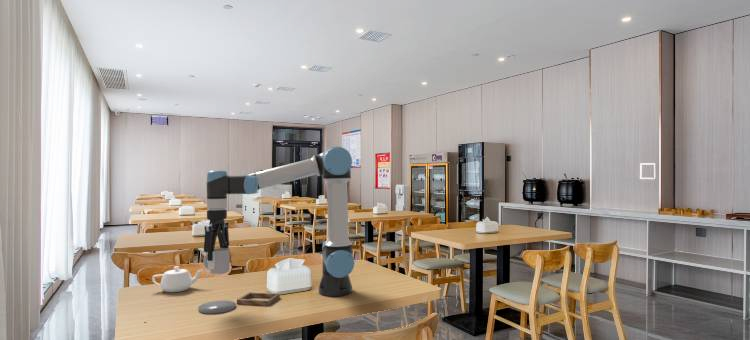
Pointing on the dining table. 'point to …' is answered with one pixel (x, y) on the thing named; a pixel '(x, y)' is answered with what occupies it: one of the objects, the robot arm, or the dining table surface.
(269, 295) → the brown wooden tray
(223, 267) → the cup
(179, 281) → the teapot
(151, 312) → the dining table surface
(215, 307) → the coaster
